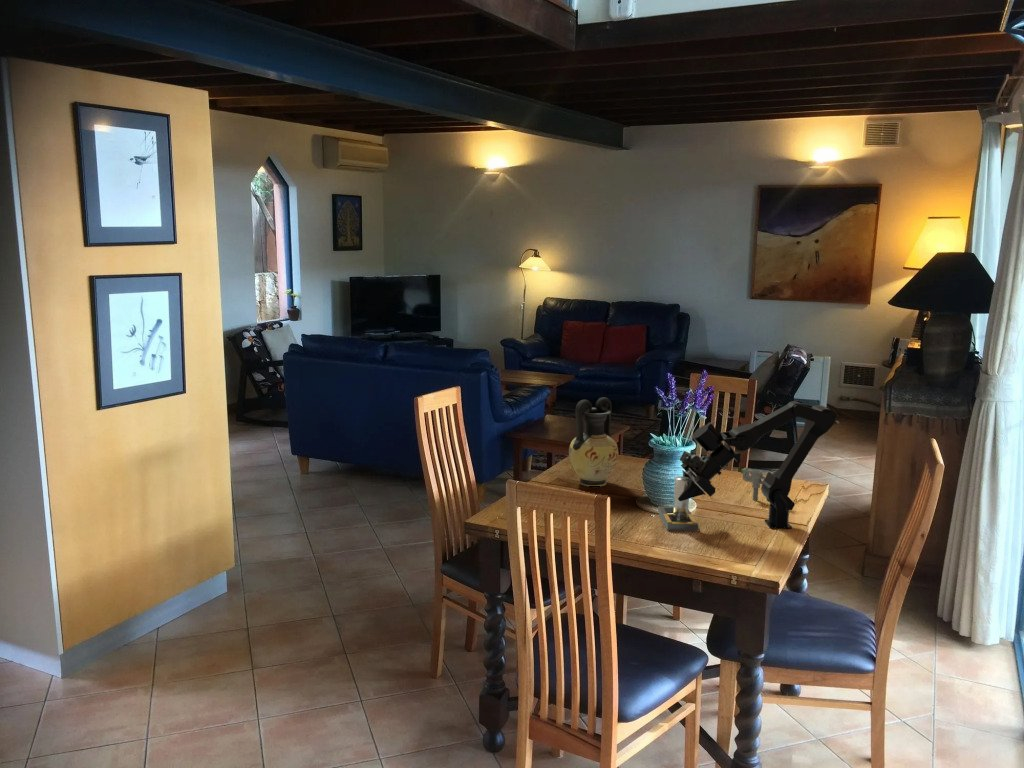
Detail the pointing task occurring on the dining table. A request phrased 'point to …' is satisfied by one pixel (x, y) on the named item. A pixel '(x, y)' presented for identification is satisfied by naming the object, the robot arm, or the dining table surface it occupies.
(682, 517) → the steel peg
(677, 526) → the grey tray
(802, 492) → the dining table surface
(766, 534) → the dining table surface
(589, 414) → the amphora
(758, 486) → the mechanical component
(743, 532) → the dining table surface
